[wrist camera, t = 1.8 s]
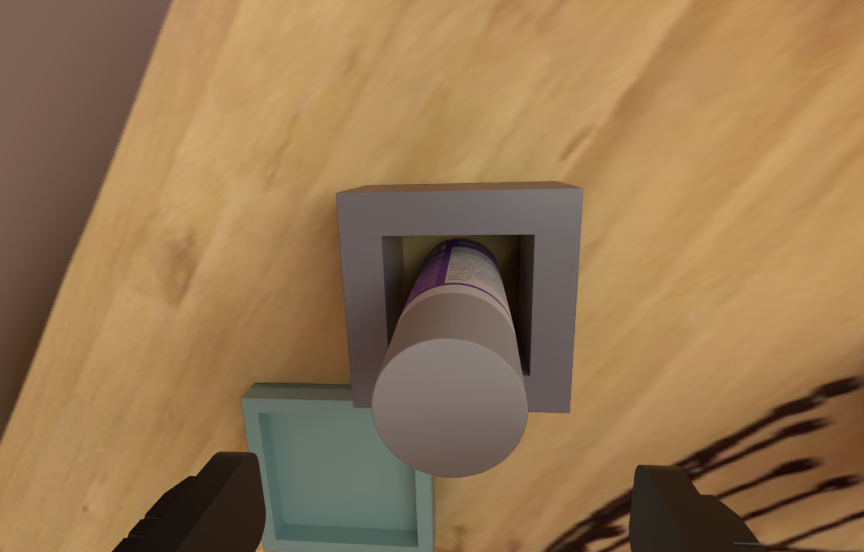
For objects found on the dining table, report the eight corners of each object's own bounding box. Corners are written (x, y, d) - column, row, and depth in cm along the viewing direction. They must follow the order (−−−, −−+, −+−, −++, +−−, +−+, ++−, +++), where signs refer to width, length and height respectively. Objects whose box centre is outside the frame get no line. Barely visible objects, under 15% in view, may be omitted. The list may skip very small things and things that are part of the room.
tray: (431, 386, 29) (428, 402, 27) (435, 535, 32) (433, 560, 30) (255, 382, 30) (240, 398, 28) (275, 527, 33) (263, 550, 31)
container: (435, 320, 28) (396, 496, 13) (412, 250, 27) (343, 358, 12) (508, 300, 27) (550, 463, 13) (487, 227, 26) (507, 314, 12)
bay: (557, 181, 25) (583, 188, 19) (549, 360, 28) (569, 412, 22) (366, 185, 26) (336, 193, 20) (376, 357, 29) (353, 407, 23)
